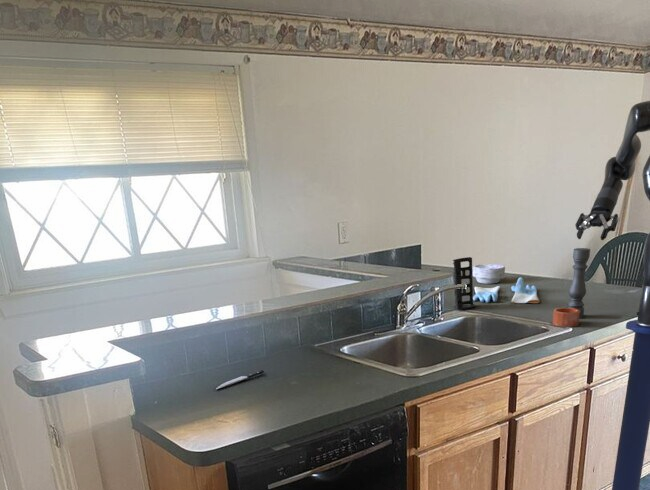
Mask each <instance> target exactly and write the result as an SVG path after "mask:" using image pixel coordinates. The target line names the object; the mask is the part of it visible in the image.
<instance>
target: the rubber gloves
mask: <svg viewBox="0 0 650 490" xmlns="http://www.w3.org/2000/svg"><path fill="white" fill-rule="evenodd" d="M473 289H474V292H475V294H473V302H476V301H478V299H479V301H480V302H481V303H484V302H485V303H486V304H488V303H490V302H491V300H492V302H493V303H496V302H497V301H498V299H499V291H500V289H501V286H500V285H497V286H495V287H481V286H474V288H473ZM511 291H512V292H513V293H514V294H513V297H512V299H511V301H510V303H511V304H527V303H528V304H539V303H540V298H539V297H538V290H537V287H536V286H535V285H532V286H530V284H526V286H525V280H524V278H523V277H518V279H517V280H516V284H515V285H512V286H511Z"/></svg>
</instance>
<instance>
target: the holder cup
mask: <svg viewBox="0 0 650 490" xmlns="http://www.w3.org/2000/svg"><path fill="white" fill-rule="evenodd" d="M579 318H580V310H579V309H575V308H567V307H557V308H554V309H553V315H552V325H554V326H557V327H562V328H572V327H578V326H579V325H580V319H581V318H580V319H579Z"/></svg>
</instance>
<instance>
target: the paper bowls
mask: <svg viewBox="0 0 650 490" xmlns="http://www.w3.org/2000/svg"><path fill="white" fill-rule="evenodd" d="M505 271H506V266H505V265H503V264H495V263H479V264H474V265H472V277H474V278H475V280H476V282H477V283H479V284H481V285H482V284H483V285H484V284H485V285H492V284H493V285H494V284H497V283H499V282H500V280H501V279H502V278H504V277H505V275H506V273H505Z"/></svg>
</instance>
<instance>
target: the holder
mask: <svg viewBox="0 0 650 490" xmlns="http://www.w3.org/2000/svg"><path fill="white" fill-rule="evenodd" d="M452 261H453V262H452V264H453V282H454V286H455V285H457V284H462V280H469V283H465V284H466V285H467V287H466V289H463V288H462V289H455V288H454V300H455V301H454V303H455V305H454V306H455V307H454V308H455V309H457V311H463V310H468V309H471V308H475V304H474V300H473V296H474V293H473V292H474V290H473V289H474V288H473V285H474V284H473V283H474V282H473V281H474V280H473V257H471V256H468V257H460V258H456V259H452ZM464 262H468V266H463V267H462V263H464ZM466 271H468V272H469V274H467V273H466ZM466 274H467V275H466ZM462 285H463V284H462ZM467 288H469V291H468V292H467ZM468 296H469V300H463V297H468Z"/></svg>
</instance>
